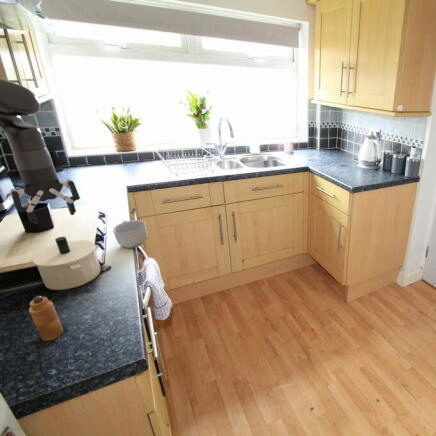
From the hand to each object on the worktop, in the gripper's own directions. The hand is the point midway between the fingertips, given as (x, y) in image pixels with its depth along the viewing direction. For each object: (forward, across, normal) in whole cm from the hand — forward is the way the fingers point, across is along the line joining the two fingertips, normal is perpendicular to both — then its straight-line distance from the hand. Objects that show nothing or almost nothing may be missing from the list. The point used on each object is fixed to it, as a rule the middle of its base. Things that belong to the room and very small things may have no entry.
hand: (54, 218), depth 94 cm
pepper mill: (+21, -11, -24) cm, 34 cm away
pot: (+21, 0, +2) cm, 21 cm away
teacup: (+22, +22, +12) cm, 33 cm away
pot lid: (+13, 0, +2) cm, 13 cm away
